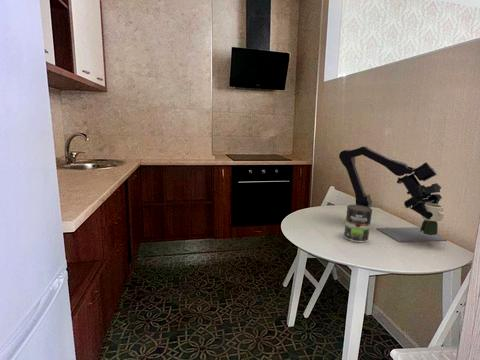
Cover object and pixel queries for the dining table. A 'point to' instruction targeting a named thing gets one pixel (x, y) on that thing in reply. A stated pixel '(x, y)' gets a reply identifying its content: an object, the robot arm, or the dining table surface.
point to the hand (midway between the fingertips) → (434, 218)
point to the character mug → (432, 218)
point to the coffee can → (357, 223)
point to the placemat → (409, 234)
